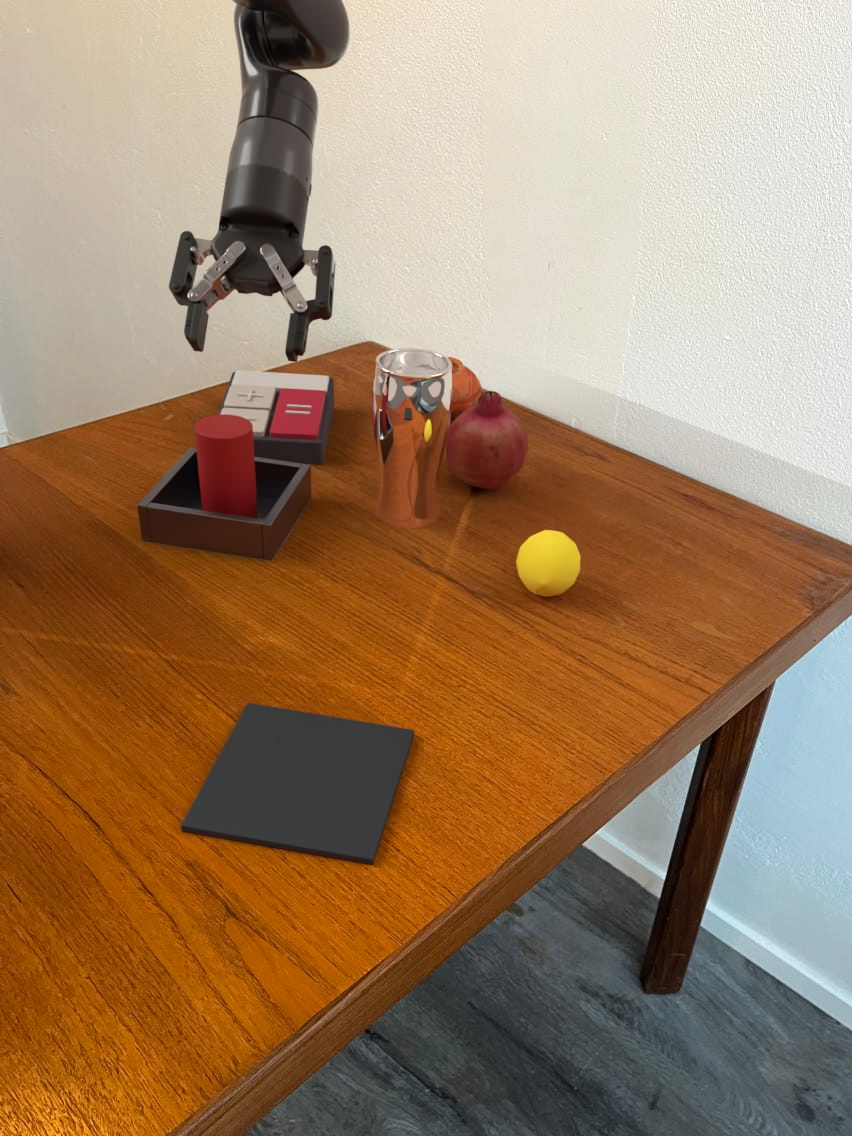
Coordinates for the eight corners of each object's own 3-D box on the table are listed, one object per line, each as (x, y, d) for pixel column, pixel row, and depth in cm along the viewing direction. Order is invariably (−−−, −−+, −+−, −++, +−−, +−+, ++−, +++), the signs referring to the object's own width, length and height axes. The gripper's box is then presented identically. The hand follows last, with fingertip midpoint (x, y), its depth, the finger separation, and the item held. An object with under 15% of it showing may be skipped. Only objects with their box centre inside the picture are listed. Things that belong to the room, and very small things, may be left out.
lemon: (572, 616, 83) (581, 561, 80) (508, 606, 84) (514, 551, 81) (579, 572, 89) (587, 519, 86) (518, 563, 90) (525, 510, 86)
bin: (142, 545, 87) (137, 505, 85) (193, 485, 96) (190, 447, 94) (272, 565, 86) (270, 525, 84) (311, 502, 95) (311, 464, 93)
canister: (194, 527, 89) (185, 433, 84) (214, 502, 93) (206, 411, 88) (247, 535, 89) (241, 441, 83) (265, 509, 93) (260, 418, 87)
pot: (494, 407, 116) (494, 356, 111) (458, 444, 112) (456, 393, 106) (436, 386, 119) (433, 336, 114) (398, 422, 114) (393, 371, 109)
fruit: (496, 514, 96) (506, 416, 90) (427, 488, 99) (432, 392, 94) (537, 484, 102) (549, 390, 96) (470, 460, 105) (477, 368, 99)
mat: (181, 831, 61) (180, 825, 61) (247, 707, 71) (247, 702, 71) (373, 865, 61) (373, 859, 60) (414, 735, 70) (414, 729, 70)
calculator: (208, 429, 98) (232, 364, 109) (212, 468, 101) (235, 400, 112) (322, 435, 99) (334, 370, 110) (323, 474, 101) (334, 406, 113)
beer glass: (406, 542, 91) (413, 384, 82) (354, 513, 94) (355, 358, 86) (459, 518, 95) (471, 365, 86) (408, 490, 99) (414, 341, 90)
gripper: (179, 153, 89) (151, 325, 86) (340, 169, 88) (316, 342, 86) (201, 203, 96) (176, 363, 93) (350, 218, 96) (328, 378, 93)
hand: (243, 353), depth 90 cm, fingers open, 8 cm apart
